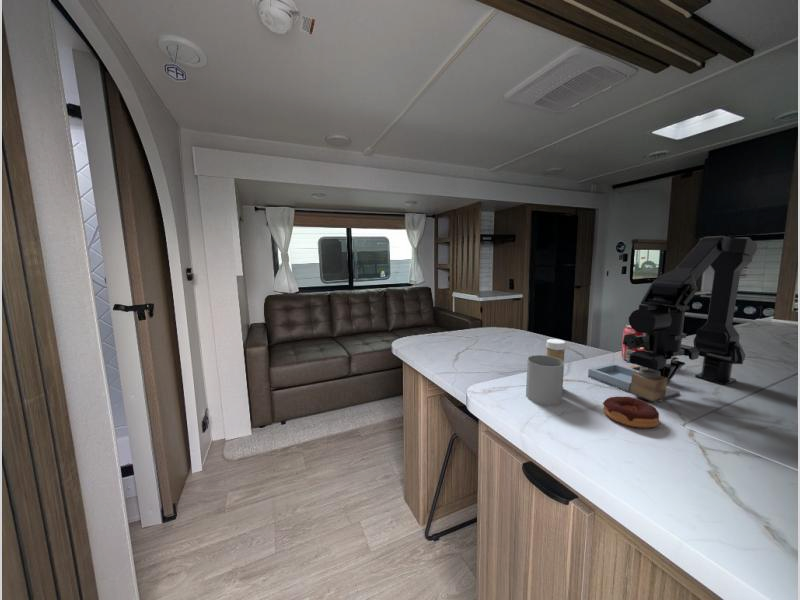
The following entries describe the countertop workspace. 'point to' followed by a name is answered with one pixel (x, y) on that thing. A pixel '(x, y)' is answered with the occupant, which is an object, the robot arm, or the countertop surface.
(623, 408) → the donut
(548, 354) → the sprinkles bottle
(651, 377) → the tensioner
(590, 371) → the tray
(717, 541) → the countertop surface
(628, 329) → the soda can
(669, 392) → the rail
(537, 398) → the cup
